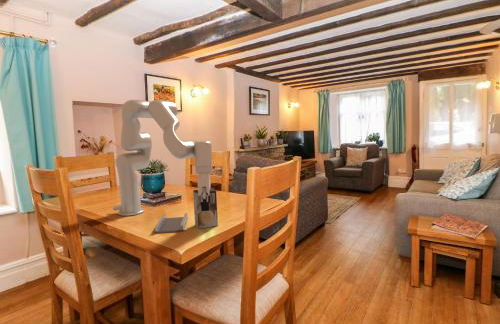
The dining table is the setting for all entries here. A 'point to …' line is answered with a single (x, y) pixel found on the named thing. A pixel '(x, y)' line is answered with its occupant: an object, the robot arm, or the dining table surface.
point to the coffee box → (205, 217)
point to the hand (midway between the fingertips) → (205, 207)
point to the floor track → (171, 224)
